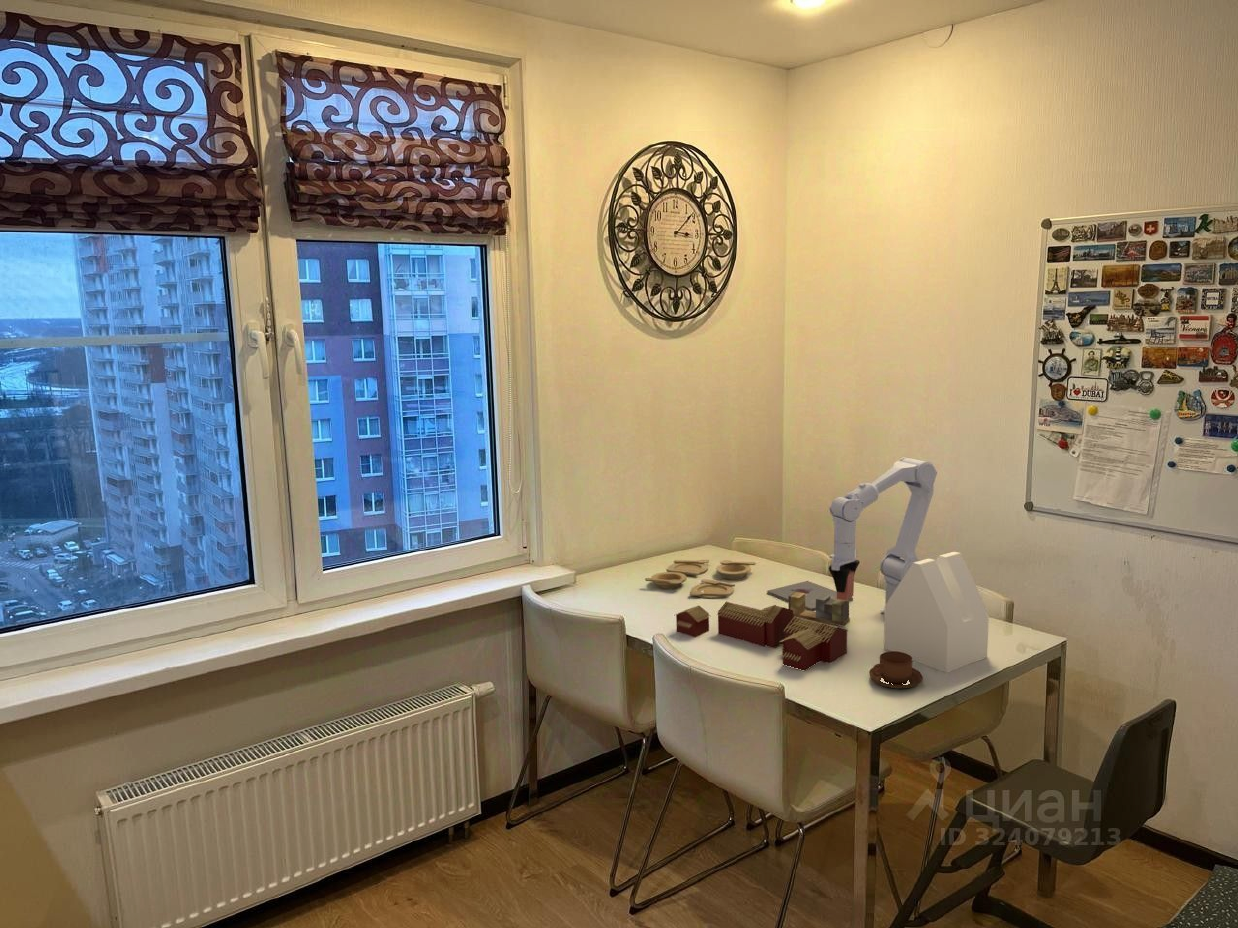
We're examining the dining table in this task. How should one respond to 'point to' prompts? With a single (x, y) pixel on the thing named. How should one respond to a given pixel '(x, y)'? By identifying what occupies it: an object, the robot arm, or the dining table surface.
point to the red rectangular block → (847, 588)
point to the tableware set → (710, 587)
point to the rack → (820, 609)
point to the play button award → (810, 592)
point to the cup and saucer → (895, 670)
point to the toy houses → (771, 632)
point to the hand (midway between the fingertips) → (844, 588)
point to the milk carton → (938, 615)
